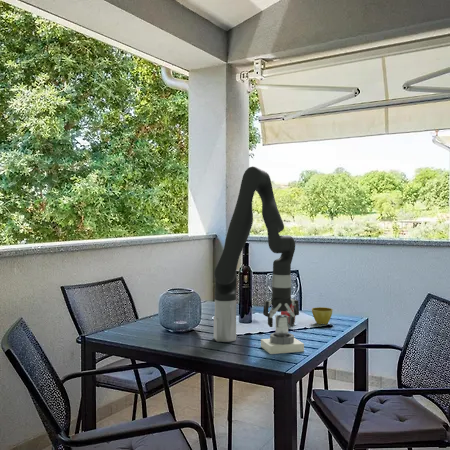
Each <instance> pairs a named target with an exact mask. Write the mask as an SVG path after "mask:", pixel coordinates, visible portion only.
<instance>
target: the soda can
mask: <svg viewBox="0 0 450 450" xmlns="http://www.w3.org/2000/svg"><path fill="white" fill-rule="evenodd" d="M294 299H295V298H292V297H291V300H294ZM290 308H291V310H292V312H294V305H293V304H291V305H290ZM280 315H286V316H288V325H289V316H290V314H289V313H288V312H287V311H281V312H280ZM295 322H296V316H295V317H294V323H295Z"/></svg>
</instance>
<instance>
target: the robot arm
mask: <svg viewBox="0 0 450 450" xmlns="http://www.w3.org/2000/svg"><path fill="white" fill-rule="evenodd" d="M241 178H242V179H241V182H240V188H239V193H238V196H237V200H236V203H235V207H234V210H233V213H232V216H231V220H230V222H229V225H228V227H227V233H226V235H225V236H226V237H225V241H224V247H223V250H222V253H221V256H220V257H219V259H218V263H217V265H216V267H215V268H214V273H213V276H214V279H215V280H214V281H215V282H214V286H215V287H214V289H215V290H214V316H213V340H215V341H216V342H218V343H219V342H221V343H222V342H223V343H226V342H227V343H228V342H229V343H230V342H234V341H236V340H237V276H238V275H237V269H238V263H239V259H240V256H241V253H242V252H243V249H244V247H245V246H246V244H247V243H246V242H247V241H248V238H249V235H250V234H251V230H252V226H253V223H254V214H253V199H254V195H255V193H256V192H257V194H258V196H259V198H260V200H261V214H262V216H261V217H262V219H263V222H264V224H265V225H264V226H265V228H266V230H267V241H268V242H267V243H268V247H269V249H270V251H271V252H272V253H274V254H280V256H279V258H277V259H274V260H273V264H272V279H271V300H263V312H262V315H264V316H265V317H267V325H268V326H269V328H273V326H274V325H273V322H274V320H273V319H274V318H273V316H274V315H275V314H277V312H278V313H281V311H287V312H288V313H289V314H290V316H289V324H288V326H290V327H293V326H294V325H295V322H294V317H295V318H296V317H297V316H299V315H300V305H299V303H300V302H299V300H297V299H296V298H293V299H294V300H291V298H292V277H291V275H292V271H291V269H292V268H291V265H292V262H293V257H294V254H295V250H296V242H295V241H296V240H295V239H294V237H293V236H292V235H288V234H287V235H285V234H284V235H280V233H281V232H283V231H284V230H285V225H284V221H283V219H282V217H281V213H280V211H279V209H278V205H277V202H276V198H275V194H274V191H273V190H274V189H273V185H272V180H271V176H270V175H269V173H268V171H265V170H263V169H261V168H259V167H257V166H250V167H248V168H246V170H245V171H244V172H243V175H242V177H241ZM291 304H293V305H294V312H292V310H291V308H290V305H291ZM270 306H272V307H271V308H270ZM269 308H270V310H269Z"/></svg>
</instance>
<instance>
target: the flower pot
mask: <svg viewBox="0 0 450 450" xmlns="http://www.w3.org/2000/svg"><path fill="white" fill-rule="evenodd" d="M311 313H312V316H313V318H314V320H315V322H316V324H317V325H321V324H325V325H328V323H329V322H330V321H331V318H332V315H333V308H331V307H330V308H329V307H325V306H323V307H321V306H320V307H319V306H317V307H312V308H311Z"/></svg>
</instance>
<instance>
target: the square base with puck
mask: <svg viewBox="0 0 450 450" xmlns="http://www.w3.org/2000/svg"><path fill="white" fill-rule="evenodd" d="M260 348H262V349H263V350H265V352H267V353H269V354H270V355H274V354H276V355H277V354H287V353H298V352H299V353H300V352H302V353H303V352H305V343H304V342H302V341H300V340H298V339H297V338H295V335H294V334H293V333H290V332H288V337H276V332H273V333H271V334H270V335H269V338H261V339H260Z"/></svg>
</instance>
